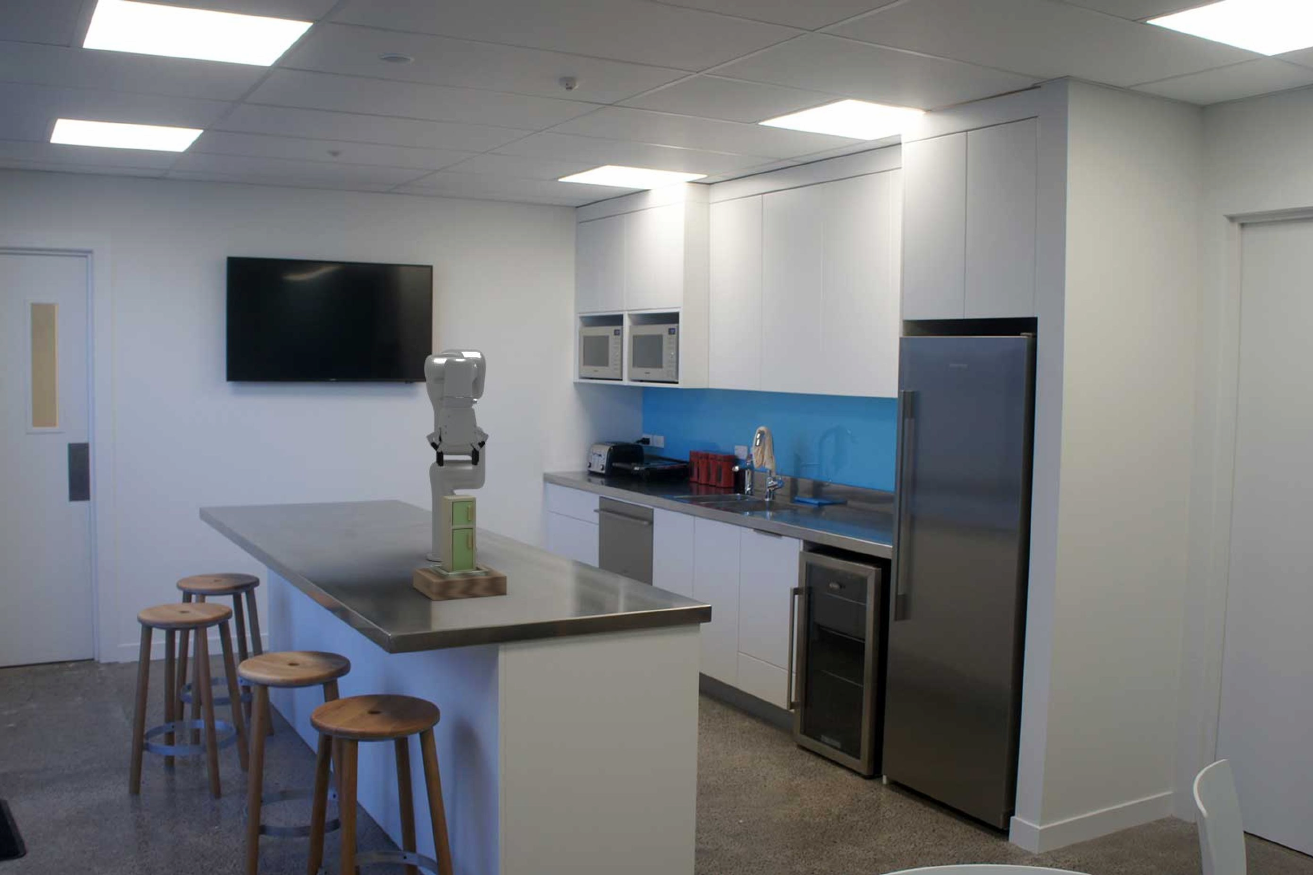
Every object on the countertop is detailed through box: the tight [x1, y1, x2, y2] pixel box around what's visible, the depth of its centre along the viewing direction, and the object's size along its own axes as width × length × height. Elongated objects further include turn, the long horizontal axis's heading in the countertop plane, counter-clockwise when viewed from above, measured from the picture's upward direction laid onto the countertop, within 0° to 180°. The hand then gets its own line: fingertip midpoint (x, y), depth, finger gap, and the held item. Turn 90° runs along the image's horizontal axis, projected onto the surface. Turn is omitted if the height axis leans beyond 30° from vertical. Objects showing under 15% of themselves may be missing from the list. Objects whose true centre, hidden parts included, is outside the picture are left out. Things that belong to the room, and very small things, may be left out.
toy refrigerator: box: [440, 494, 477, 573], centre depth 306 cm, size 8×7×21 cm
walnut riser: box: [412, 563, 508, 602], centre depth 306 cm, size 20×20×6 cm
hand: (457, 465), depth 307 cm, fingers open, 9 cm apart
